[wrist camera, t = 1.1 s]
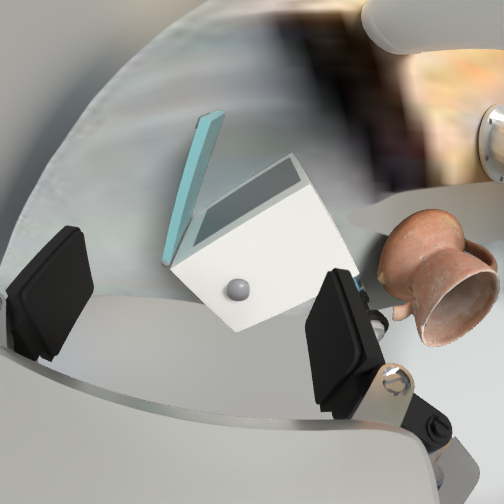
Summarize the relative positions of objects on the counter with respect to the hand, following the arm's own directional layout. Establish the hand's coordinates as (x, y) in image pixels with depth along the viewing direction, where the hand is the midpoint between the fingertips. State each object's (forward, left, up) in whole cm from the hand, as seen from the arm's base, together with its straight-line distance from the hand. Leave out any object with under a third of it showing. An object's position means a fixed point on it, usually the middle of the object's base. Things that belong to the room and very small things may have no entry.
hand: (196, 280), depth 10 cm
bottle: (-24, -4, -23) cm, 33 cm away
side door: (+4, -1, -22) cm, 22 cm away
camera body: (+2, +9, -22) cm, 24 cm away
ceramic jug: (-15, +25, -23) cm, 37 cm away
